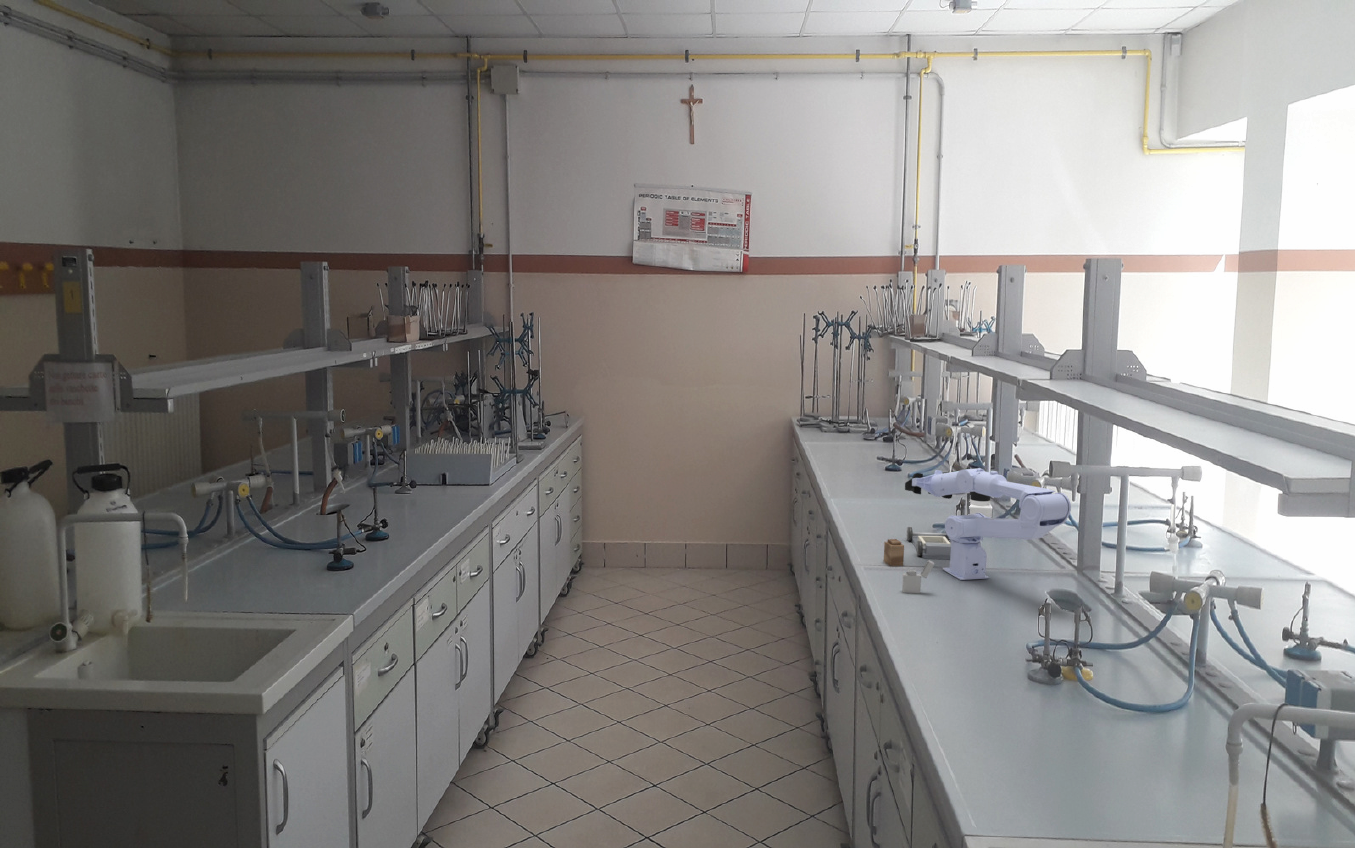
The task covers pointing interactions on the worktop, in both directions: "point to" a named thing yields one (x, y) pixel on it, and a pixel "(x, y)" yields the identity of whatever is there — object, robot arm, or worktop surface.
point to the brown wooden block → (893, 552)
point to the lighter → (915, 579)
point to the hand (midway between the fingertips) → (917, 488)
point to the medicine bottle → (980, 504)
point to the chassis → (930, 544)
